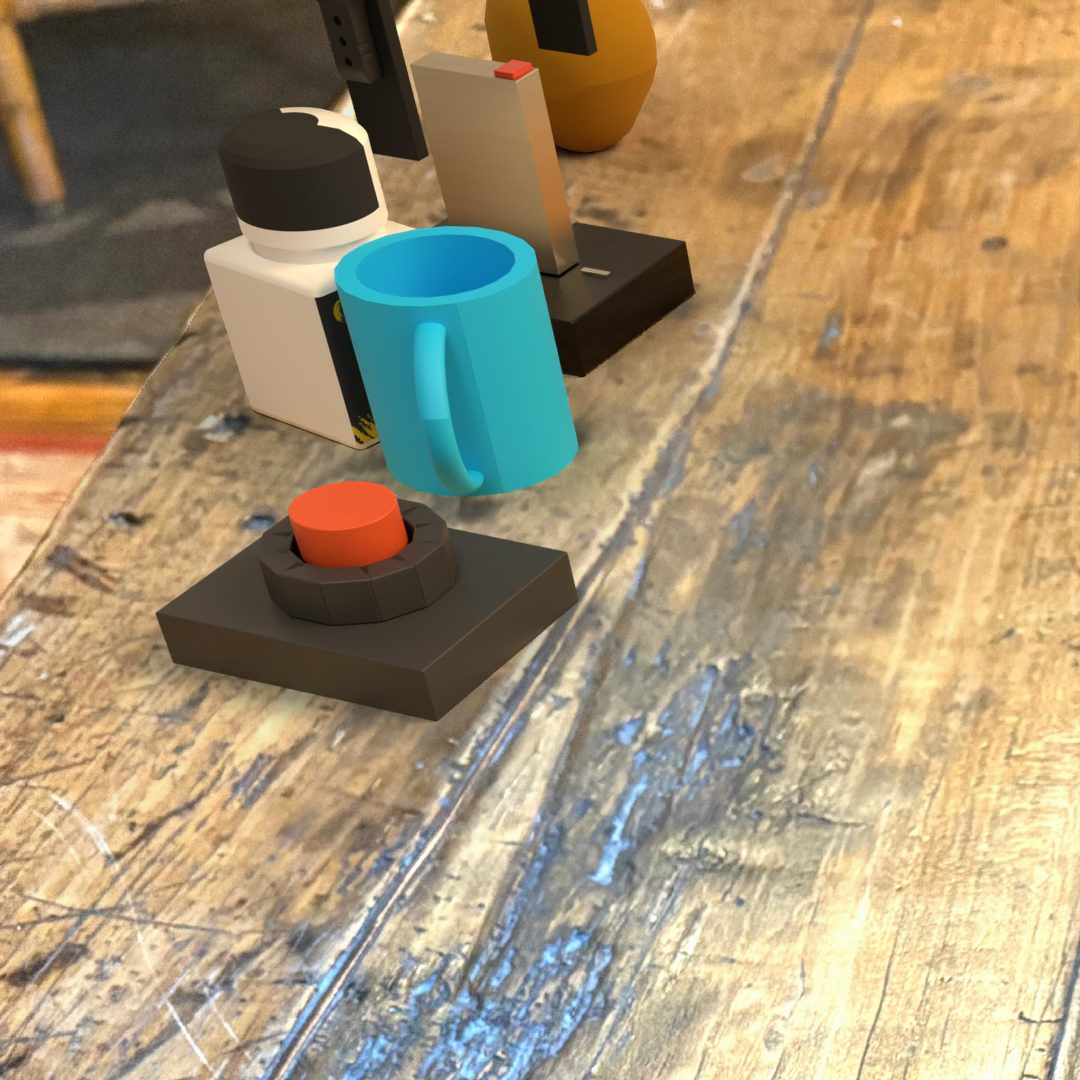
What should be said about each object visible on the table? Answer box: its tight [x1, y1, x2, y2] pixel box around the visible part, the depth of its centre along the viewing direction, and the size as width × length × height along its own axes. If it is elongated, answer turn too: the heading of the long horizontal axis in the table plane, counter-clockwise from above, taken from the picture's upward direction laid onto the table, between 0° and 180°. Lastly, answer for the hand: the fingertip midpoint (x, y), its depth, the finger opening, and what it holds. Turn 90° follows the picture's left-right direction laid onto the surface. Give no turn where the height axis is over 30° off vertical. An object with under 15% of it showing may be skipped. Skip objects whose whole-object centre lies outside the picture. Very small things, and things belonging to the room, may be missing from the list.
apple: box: [483, 0, 658, 153], centre depth 138 cm, size 9×8×9 cm
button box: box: [155, 497, 579, 722], centre depth 104 cm, size 12×10×4 cm
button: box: [287, 480, 408, 568], centre depth 102 cm, size 4×4×2 cm
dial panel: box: [431, 217, 696, 377], centre depth 125 cm, size 12×10×3 cm
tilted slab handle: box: [409, 50, 579, 275], centre depth 121 cm, size 6×2×9 cm, turn 71°
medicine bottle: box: [203, 106, 415, 451], centre depth 115 cm, size 7×7×12 cm
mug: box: [334, 226, 580, 498], centre depth 112 cm, size 12×8×8 cm
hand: (486, 101), depth 119 cm, fingers open, 13 cm apart
